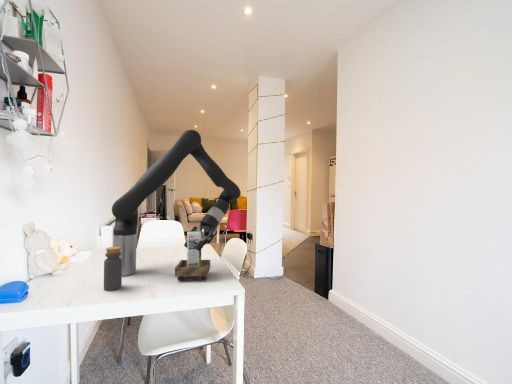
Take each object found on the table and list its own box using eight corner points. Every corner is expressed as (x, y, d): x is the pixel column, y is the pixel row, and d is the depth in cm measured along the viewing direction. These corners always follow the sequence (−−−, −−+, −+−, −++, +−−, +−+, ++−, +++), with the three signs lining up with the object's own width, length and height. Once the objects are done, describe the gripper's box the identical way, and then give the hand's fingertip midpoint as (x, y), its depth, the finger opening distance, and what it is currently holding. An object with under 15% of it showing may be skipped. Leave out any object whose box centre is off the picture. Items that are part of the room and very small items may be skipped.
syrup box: (187, 268, 107) (187, 233, 107) (186, 264, 113) (187, 230, 113) (201, 267, 109) (201, 232, 109) (200, 263, 114) (200, 230, 114)
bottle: (117, 284, 101) (118, 245, 101) (124, 287, 97) (124, 247, 97) (101, 288, 96) (101, 248, 96) (107, 292, 92) (108, 250, 92)
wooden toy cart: (174, 282, 103) (174, 268, 103) (181, 272, 116) (181, 259, 116) (207, 281, 105) (207, 267, 105) (210, 272, 118) (210, 259, 118)
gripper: (198, 212, 121) (176, 240, 112) (218, 214, 112) (196, 245, 103) (207, 223, 125) (186, 250, 116) (227, 225, 116) (207, 256, 107)
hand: (191, 248), depth 110 cm, fingers closed on syrup box, 8 cm apart
